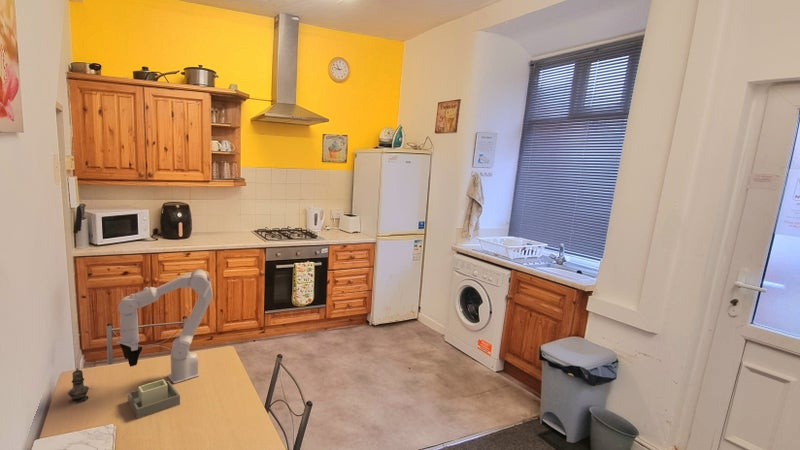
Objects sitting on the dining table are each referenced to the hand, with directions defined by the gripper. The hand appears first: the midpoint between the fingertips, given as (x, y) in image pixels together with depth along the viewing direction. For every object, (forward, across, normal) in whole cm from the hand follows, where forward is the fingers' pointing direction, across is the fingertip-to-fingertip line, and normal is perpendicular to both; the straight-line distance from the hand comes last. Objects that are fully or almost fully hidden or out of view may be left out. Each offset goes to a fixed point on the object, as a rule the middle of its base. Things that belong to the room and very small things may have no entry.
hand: (130, 361), depth 154 cm
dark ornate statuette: (+10, 0, -16) cm, 19 cm away
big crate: (+9, +19, +3) cm, 21 cm away
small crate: (+9, +19, +3) cm, 21 cm away
